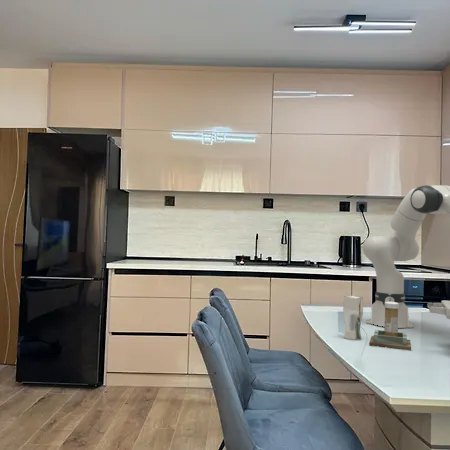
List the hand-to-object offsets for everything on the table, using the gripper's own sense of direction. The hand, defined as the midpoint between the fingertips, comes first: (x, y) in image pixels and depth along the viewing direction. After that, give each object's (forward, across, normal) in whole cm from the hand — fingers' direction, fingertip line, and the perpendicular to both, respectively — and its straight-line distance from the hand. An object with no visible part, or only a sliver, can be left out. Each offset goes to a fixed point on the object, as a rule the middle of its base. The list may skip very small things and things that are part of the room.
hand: (428, 307), depth 143 cm
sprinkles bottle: (+12, +1, +13) cm, 17 cm away
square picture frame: (+12, +1, +14) cm, 18 cm away
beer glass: (+25, -2, +14) cm, 28 cm away
